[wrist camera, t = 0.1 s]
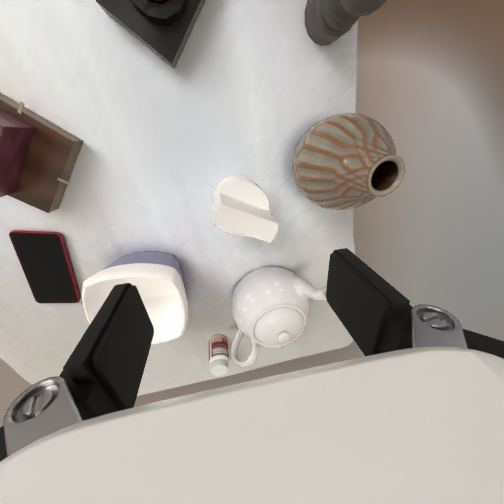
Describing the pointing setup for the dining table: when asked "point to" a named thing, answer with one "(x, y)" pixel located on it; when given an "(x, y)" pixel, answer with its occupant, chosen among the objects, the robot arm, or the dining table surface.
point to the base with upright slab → (243, 209)
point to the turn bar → (12, 150)
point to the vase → (346, 162)
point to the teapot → (271, 309)
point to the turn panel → (43, 159)
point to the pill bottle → (218, 355)
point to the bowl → (144, 290)
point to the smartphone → (46, 266)
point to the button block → (157, 22)
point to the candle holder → (335, 17)
